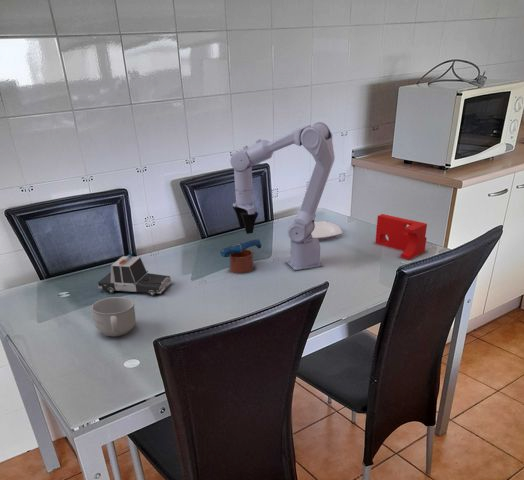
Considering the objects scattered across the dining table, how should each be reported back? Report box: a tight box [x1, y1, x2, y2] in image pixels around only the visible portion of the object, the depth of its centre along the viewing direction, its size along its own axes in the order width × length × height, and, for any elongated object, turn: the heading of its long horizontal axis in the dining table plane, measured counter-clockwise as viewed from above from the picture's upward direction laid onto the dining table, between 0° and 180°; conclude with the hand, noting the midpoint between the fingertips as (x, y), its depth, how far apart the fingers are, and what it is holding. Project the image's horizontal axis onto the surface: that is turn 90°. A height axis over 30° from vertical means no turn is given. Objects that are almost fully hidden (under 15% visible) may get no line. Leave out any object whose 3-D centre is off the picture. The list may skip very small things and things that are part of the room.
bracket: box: [374, 213, 428, 260], centre depth 176 cm, size 18×10×10 cm
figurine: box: [220, 238, 262, 258], centre depth 165 cm, size 5×4×15 cm
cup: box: [228, 248, 255, 274], centre depth 167 cm, size 8×8×6 cm
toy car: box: [97, 254, 173, 297], centre depth 155 cm, size 10×21×10 cm, turn 78°
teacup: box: [90, 296, 136, 337], centre depth 131 cm, size 14×11×8 cm
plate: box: [311, 220, 343, 241], centre depth 195 cm, size 19×19×2 cm
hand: (246, 229), depth 171 cm, fingers open, 7 cm apart
